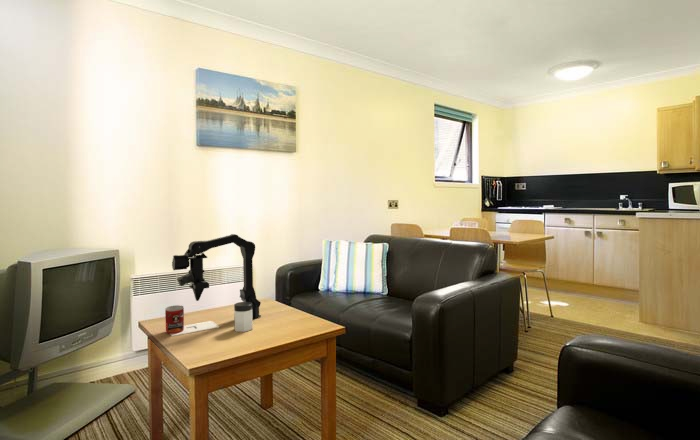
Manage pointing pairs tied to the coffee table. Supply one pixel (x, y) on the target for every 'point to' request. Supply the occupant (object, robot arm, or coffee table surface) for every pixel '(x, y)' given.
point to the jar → (243, 316)
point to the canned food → (174, 319)
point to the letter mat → (197, 327)
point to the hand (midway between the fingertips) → (197, 300)
